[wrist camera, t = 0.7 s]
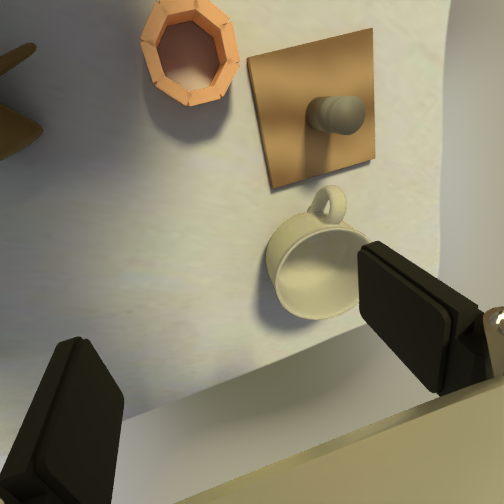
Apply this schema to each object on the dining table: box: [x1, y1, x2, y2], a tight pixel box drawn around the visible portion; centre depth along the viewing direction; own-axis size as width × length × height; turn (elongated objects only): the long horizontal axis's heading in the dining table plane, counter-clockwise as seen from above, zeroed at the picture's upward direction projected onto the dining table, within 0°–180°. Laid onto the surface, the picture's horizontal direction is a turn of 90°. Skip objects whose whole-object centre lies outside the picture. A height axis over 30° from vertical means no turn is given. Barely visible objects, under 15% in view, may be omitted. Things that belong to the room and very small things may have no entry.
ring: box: [140, 0, 240, 106], centre depth 25 cm, size 7×7×4 cm
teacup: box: [266, 185, 372, 320], centre depth 33 cm, size 14×11×8 cm
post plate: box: [247, 28, 375, 188], centre depth 28 cm, size 12×12×6 cm
